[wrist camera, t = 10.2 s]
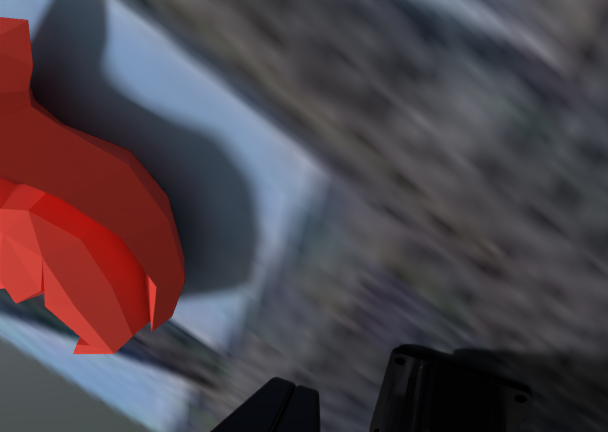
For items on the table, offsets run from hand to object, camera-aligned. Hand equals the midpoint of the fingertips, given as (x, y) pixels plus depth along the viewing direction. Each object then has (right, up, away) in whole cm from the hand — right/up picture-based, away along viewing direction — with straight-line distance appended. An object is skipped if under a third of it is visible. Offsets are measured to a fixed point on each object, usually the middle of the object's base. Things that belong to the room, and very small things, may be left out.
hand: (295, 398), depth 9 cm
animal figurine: (-11, +5, +17) cm, 21 cm away
